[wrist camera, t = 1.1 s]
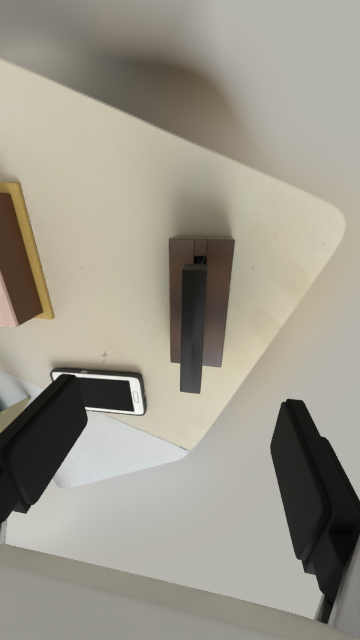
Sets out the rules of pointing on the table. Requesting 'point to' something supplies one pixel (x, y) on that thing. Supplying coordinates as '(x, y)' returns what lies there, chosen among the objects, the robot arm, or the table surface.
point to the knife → (192, 324)
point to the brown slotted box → (217, 291)
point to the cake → (19, 263)
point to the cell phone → (109, 391)
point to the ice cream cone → (12, 413)
